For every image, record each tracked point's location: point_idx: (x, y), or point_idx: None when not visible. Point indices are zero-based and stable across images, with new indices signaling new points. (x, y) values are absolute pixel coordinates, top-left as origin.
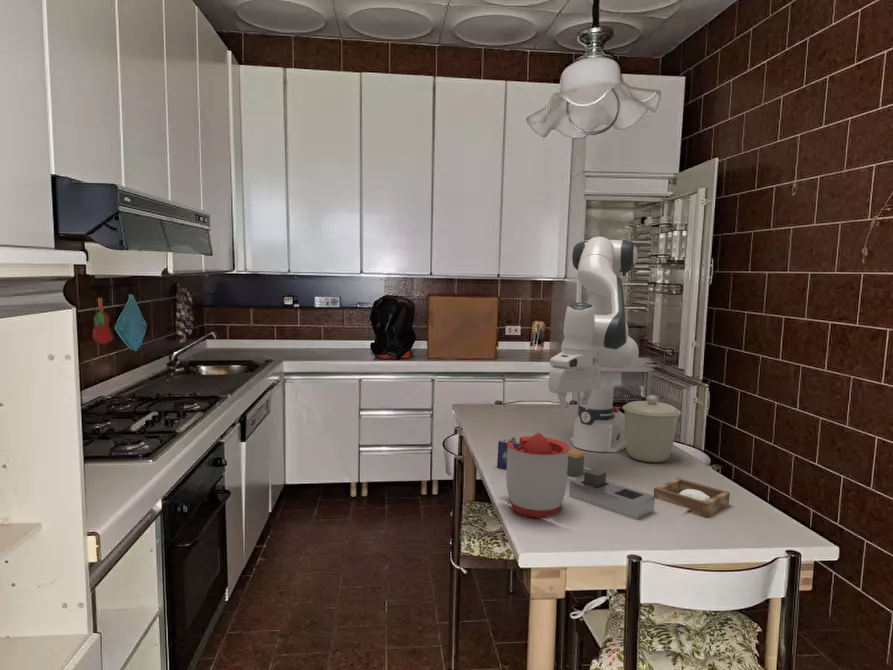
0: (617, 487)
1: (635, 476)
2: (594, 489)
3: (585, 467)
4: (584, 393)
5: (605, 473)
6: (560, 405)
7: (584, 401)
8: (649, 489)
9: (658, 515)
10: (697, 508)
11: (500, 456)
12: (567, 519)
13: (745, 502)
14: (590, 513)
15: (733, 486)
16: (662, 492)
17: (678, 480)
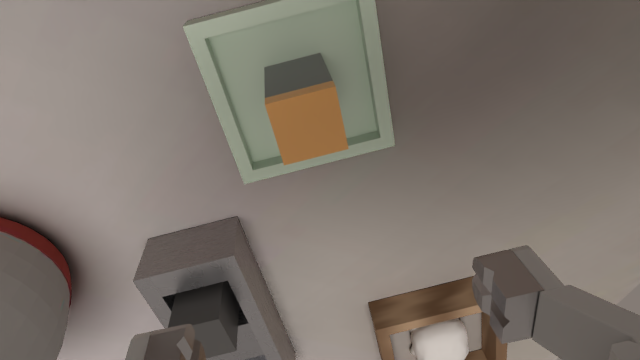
0: (251, 345)
1: (505, 159)
2: None
3: (382, 74)
4: (610, 333)
5: (232, 349)
6: (130, 351)
7: (491, 314)
8: (433, 249)
9: (305, 353)
10: None
11: None
12: (71, 325)
13: (536, 350)
14: (154, 315)
15: (629, 290)
16: (378, 341)
17: None
